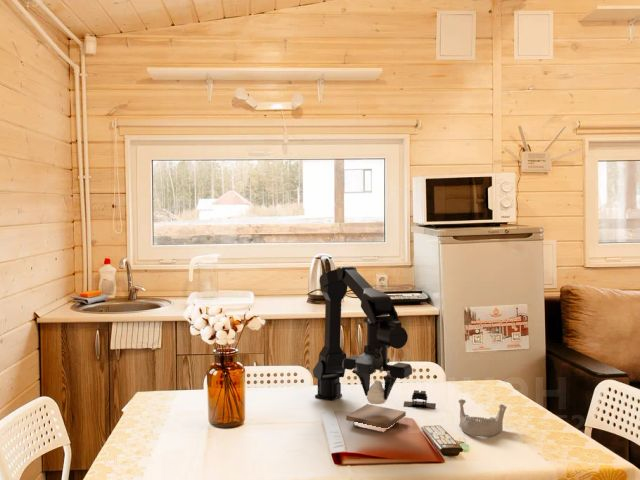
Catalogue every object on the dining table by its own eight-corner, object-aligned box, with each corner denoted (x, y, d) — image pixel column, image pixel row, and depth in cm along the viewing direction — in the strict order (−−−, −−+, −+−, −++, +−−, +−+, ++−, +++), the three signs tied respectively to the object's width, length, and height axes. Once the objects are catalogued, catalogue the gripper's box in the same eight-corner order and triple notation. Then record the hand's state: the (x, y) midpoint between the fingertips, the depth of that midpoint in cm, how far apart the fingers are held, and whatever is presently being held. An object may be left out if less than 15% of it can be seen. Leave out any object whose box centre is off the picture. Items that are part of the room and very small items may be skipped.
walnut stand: (346, 426, 167) (346, 415, 167) (367, 414, 177) (367, 403, 177) (386, 435, 160) (386, 424, 160) (405, 422, 170) (405, 411, 170)
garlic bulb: (391, 380, 168) (377, 384, 164) (390, 402, 168) (377, 406, 165) (376, 376, 172) (362, 379, 168) (375, 397, 172) (362, 401, 169)
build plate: (440, 404, 188) (440, 390, 188) (440, 412, 181) (440, 397, 180) (399, 401, 190) (400, 387, 190) (397, 409, 183) (397, 394, 183)
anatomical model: (451, 432, 160) (453, 393, 163) (456, 436, 170) (459, 399, 173) (502, 439, 155) (504, 398, 159) (505, 442, 165) (506, 404, 168)
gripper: (332, 342, 166) (331, 399, 167) (395, 351, 156) (394, 412, 157) (352, 334, 175) (352, 389, 176) (413, 343, 165) (412, 400, 166)
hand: (376, 397), depth 168 cm, fingers closed on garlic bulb, 5 cm apart
